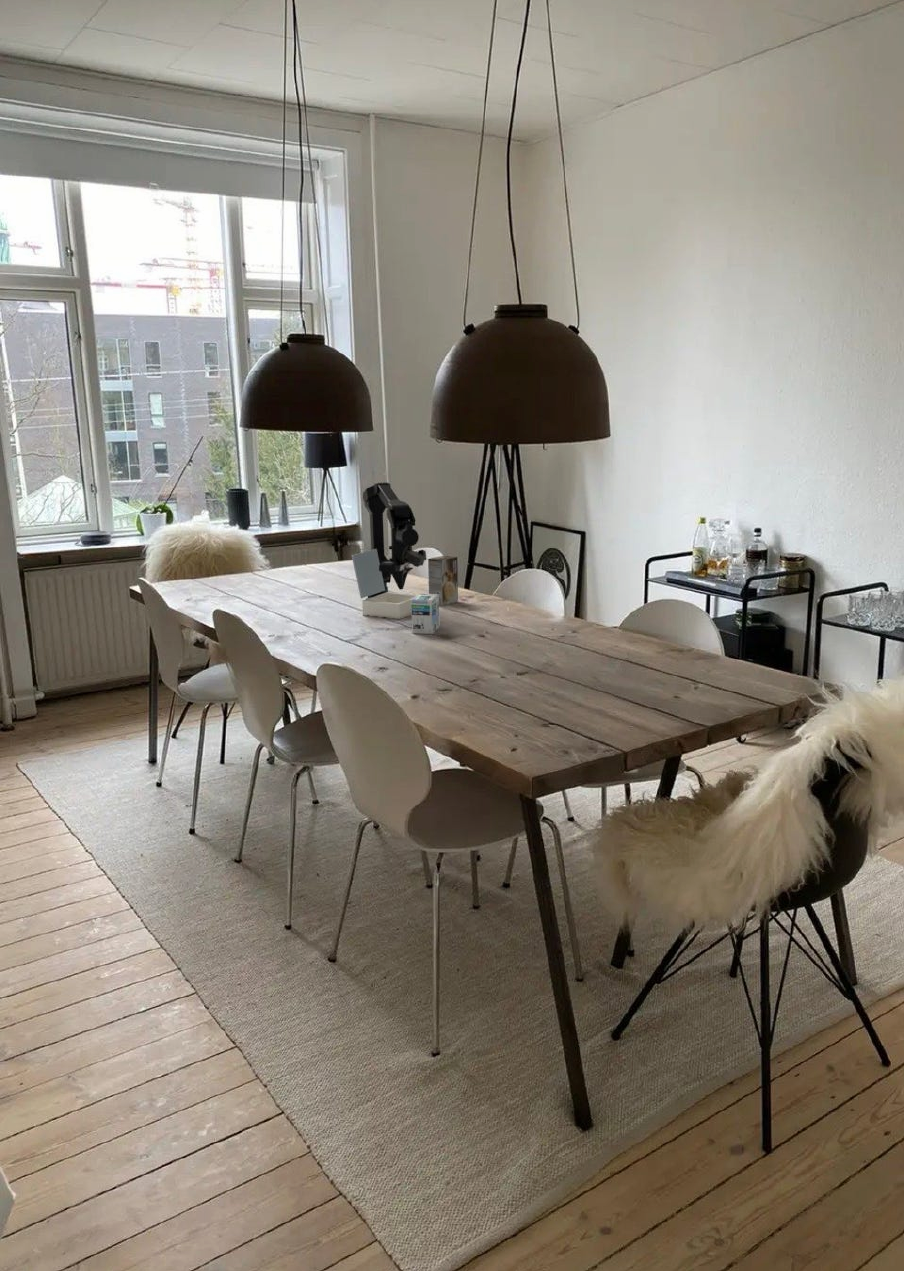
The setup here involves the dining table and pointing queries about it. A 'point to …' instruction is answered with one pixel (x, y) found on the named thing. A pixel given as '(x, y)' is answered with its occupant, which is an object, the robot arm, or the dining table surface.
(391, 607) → the open box
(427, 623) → the light bulb box
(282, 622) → the dining table surface
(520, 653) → the dining table surface
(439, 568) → the coffee box
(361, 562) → the lid flap
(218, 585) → the dining table surface
